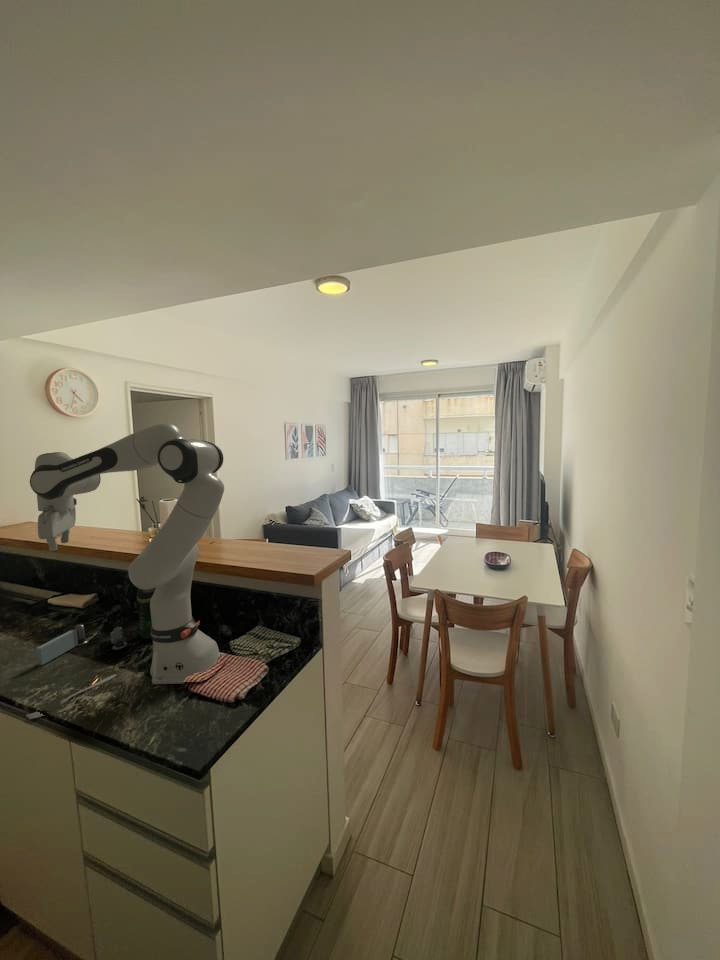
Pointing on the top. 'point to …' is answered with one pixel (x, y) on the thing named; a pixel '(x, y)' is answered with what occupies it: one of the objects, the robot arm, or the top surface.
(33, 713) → the fork
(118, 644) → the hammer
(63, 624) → the top surface
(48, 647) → the grey flat block
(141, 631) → the coffee jar
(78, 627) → the round knob
